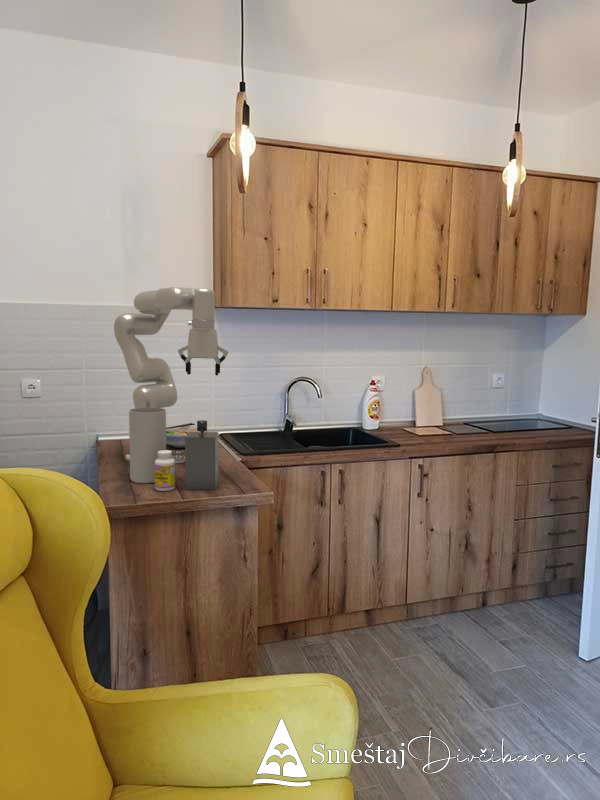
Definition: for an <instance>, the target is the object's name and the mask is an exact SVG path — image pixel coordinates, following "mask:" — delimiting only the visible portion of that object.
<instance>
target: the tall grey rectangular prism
mask: <svg viewBox="0 0 600 800" xmlns="http://www.w3.org/2000/svg"><path fill="white" fill-rule="evenodd" d="M184 455H185V458H184V459H185V461H184V462H185V463H184V464H185V465H184V466H185V469H184V471H185V477H184V478H185V480H184V481H185V482H184V483H185V490H186V491H193V490H194V491H195V490H196V491H197V490H198V491H215V490H217V487H218V484H219V431H207V432H204V435H200V432H189V433H188V434H187V435H186V437H185V451H184Z"/></svg>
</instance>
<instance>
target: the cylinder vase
mask: <svg viewBox="0 0 600 800" xmlns="http://www.w3.org/2000/svg"><path fill="white" fill-rule="evenodd" d="M128 421H129V422H128V427H129V428H128V432H129V455H130V460H129V479H130V481H132V482H133V483H136V484H137V483H138V484H155V460H156V459H158V451H162V450H167V444H166V427H167V411H166V409H165V408H151V407H148V408H135V407H134V408H131V409H128Z"/></svg>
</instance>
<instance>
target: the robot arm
mask: <svg viewBox="0 0 600 800" xmlns="http://www.w3.org/2000/svg"><path fill="white" fill-rule="evenodd" d="M215 303H216V293H215V291H214V290H213V289H211V288H193V287H181V286H179V287H178V286H175V287H174V286H173V287H172V286H171V287H163V288H158V289H156V290H146V291H141V292H139V293H138V294H136V295H135V297H134V299H133V306H134V308H135V309H136V311H138V313H137V312H127V313H122V314H119V315H118V316H117V317H116V318H115V320H114V324H113V332H114V337H115V340H116V342H117V344H118V346H119V347H120V349H121V352H122V354H123V358H124V362H125V364H126V367H127V371H128V375H129V377H130V379H131V380H132V381H133V383H136V384H141V385H138V386H137V387H136V388H135V389H134V390H133V393H132V401H133V406H134V408H148V407H151V408H163V409H165V408H170V407H173V406H175V404H176V403H177V401H178V391H177V390H178V389H177V387H176V384H175V381H174V378H173V375H172V371H171V368H170V366H169V364H168V363H167V362H166V361H165V360H164V359H163V358H159V357H155V358H154V357H153V358H151V357H150V358H149V355H148V354H147V351H146V348H145V346H144V344H143V343H142V342H141V341H140V340H139V339H138V338H137V337H136V336H153V335H156V334H158V333H160V330H161V329H162V327H163V325H164V324H165V322H166V320H167V319H168V317H169V315H170V313H171V312H172V310H186V311H187V310H188V311H192V313H191V314H192V319H191V320H189V321H188V322H187V325H188V326H191V328H189V330H188V331H189V332H188V339H187V345H185V346H183V347H181V348H179V349H178V350H177V353H178V354H179V357H180V359H181V360H183V362H184V363H185V372H186V373H187V375H189V376H190V375H191V374H192V363H191V360H192V359H213V360H214V362H215V365H214V366H215V368H214V371H215V372H214V374H215V376H216V377H217V376H219V374H220V373H221V363H223V362H224V361H225V360H226V357H227V356H228V354H229V351H228V350H226V349H225V348H223V347H221V346H220V345H219V339H218V333H217V332H218V331H217V329H215V317H216V315H215V313H216V312H215V309H216V308H215V307H216V306H215V305H216V304H215ZM185 351H187V357H186V355H185V354H184V352H185ZM219 352H220V353H222V354H223V355H222V356H221V357H220V358H219V356H218V355H219ZM125 460H127V461H130V454H125Z"/></svg>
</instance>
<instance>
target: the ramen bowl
mask: <svg viewBox="0 0 600 800" xmlns="http://www.w3.org/2000/svg"><path fill="white" fill-rule="evenodd" d="M195 425H196V423H193V422H189V423H184V424H179V425H173V426H166V445H170V446H172V447H173V448H177V449H179V448H180V449H182V448H183V449H184V448H185V437H186V435H187V434H188V433H189V432H200V431H197V426H195ZM204 432H208V430H207V431H204Z"/></svg>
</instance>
